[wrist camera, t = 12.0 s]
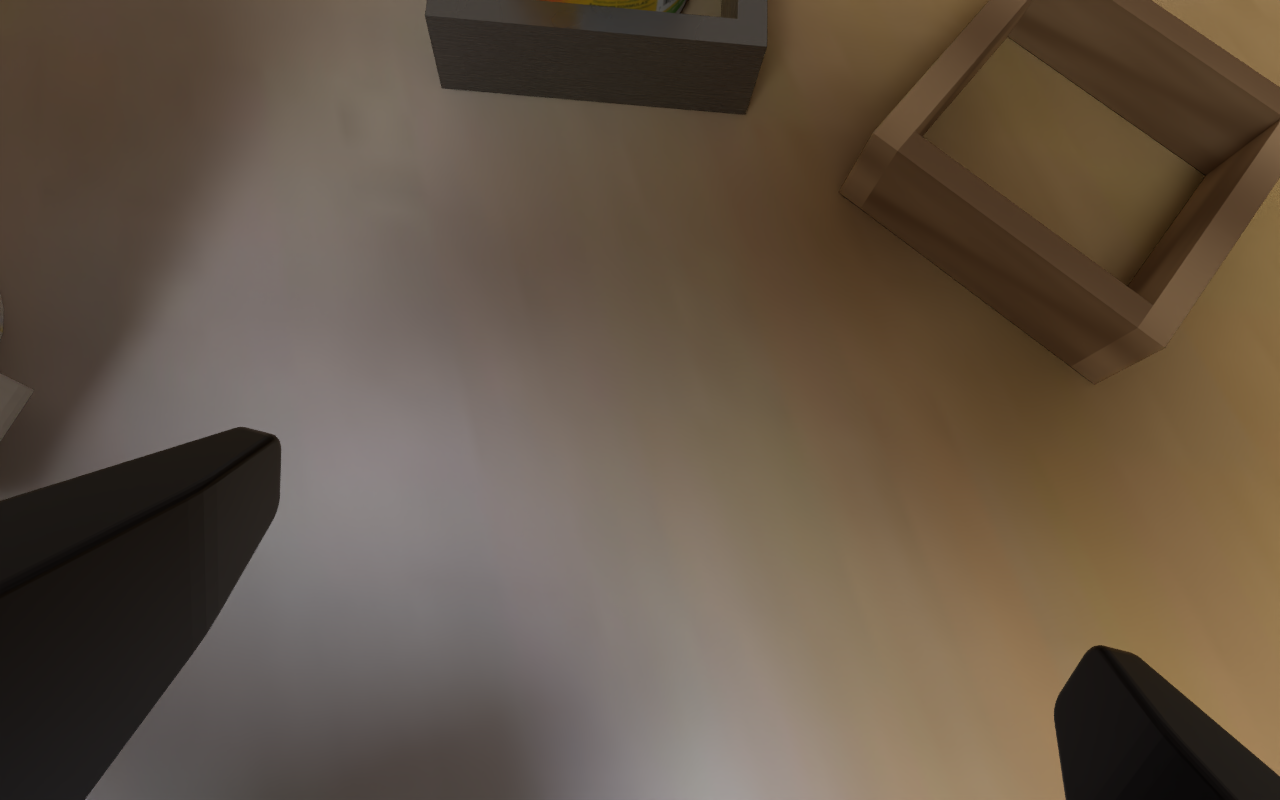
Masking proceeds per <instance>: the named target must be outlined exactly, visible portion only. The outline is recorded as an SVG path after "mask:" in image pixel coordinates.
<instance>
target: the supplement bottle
mask: <svg viewBox="0 0 1280 800" xmlns="http://www.w3.org/2000/svg"><path fill="white" fill-rule="evenodd" d="M540 1H551V2H562V3H572V4H583V5H594V6H605V7H615V8H626V9H637V10H648V11H658V12H669V13H680V12H681V10H682V9H683V7H684V5H685V2H686V0H540Z"/></svg>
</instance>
